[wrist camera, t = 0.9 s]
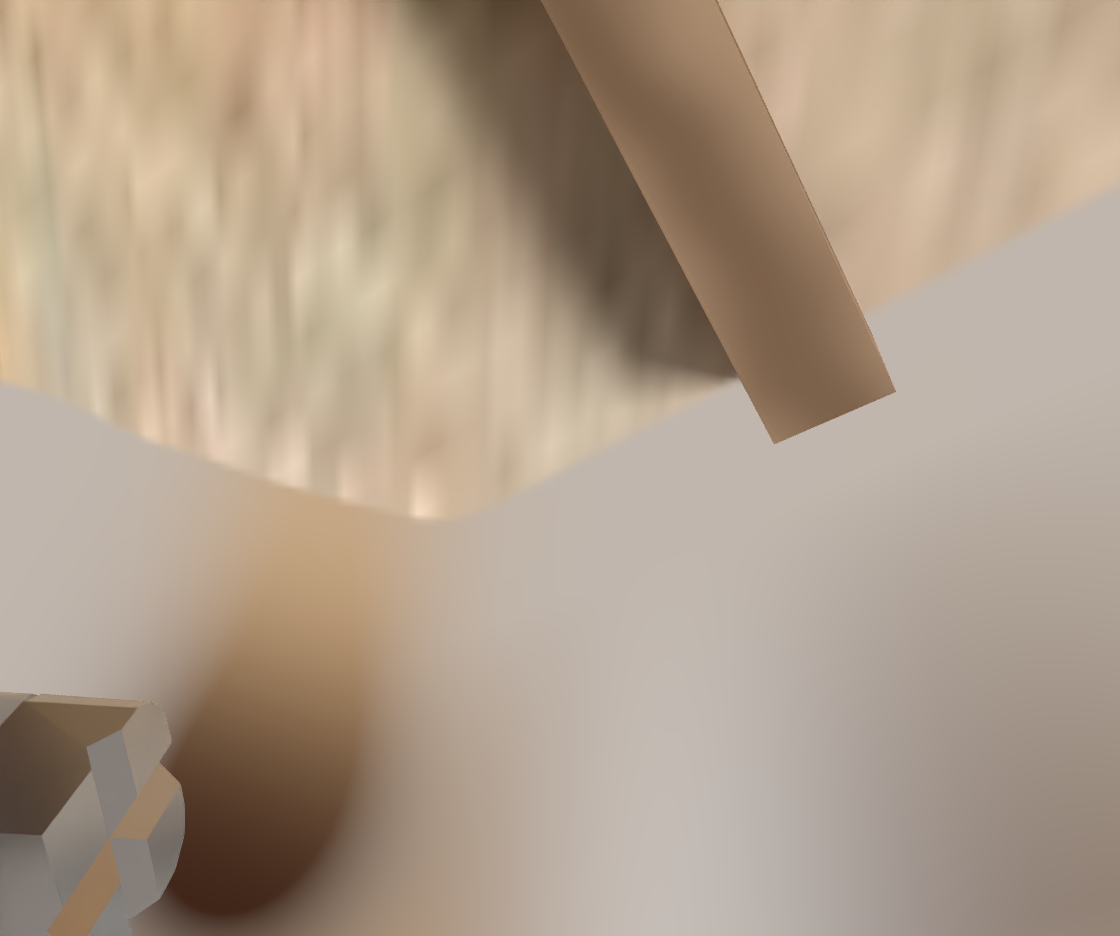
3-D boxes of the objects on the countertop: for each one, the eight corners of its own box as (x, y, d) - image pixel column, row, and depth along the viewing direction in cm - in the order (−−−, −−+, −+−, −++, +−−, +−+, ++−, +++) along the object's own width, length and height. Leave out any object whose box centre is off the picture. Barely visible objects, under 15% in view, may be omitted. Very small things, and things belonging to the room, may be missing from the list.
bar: (594, -265, 28) (573, -303, 24) (872, 335, 35) (896, 391, 31) (476, -179, 30) (435, -200, 25) (766, 383, 36) (774, 444, 32)
